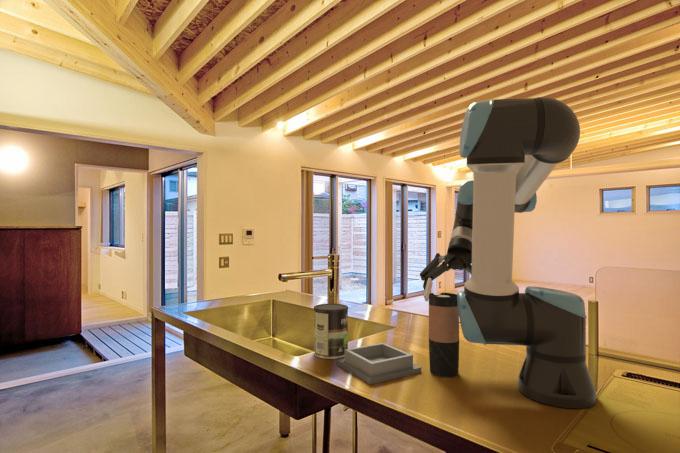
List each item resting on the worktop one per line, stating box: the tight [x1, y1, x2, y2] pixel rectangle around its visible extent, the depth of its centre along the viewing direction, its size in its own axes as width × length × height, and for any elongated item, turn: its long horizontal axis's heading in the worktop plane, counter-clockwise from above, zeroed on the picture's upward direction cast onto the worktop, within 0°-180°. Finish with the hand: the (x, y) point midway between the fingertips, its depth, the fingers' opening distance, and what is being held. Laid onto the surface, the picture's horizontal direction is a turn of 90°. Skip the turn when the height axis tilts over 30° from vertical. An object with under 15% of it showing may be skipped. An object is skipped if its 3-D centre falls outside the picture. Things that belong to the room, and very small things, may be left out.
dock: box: [336, 342, 422, 385], centre depth 101 cm, size 16×16×4 cm
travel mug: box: [428, 292, 460, 378], centre depth 98 cm, size 8×8×20 cm
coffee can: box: [313, 303, 349, 360], centre depth 114 cm, size 10×10×14 cm
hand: (449, 300), depth 105 cm, fingers open, 13 cm apart
